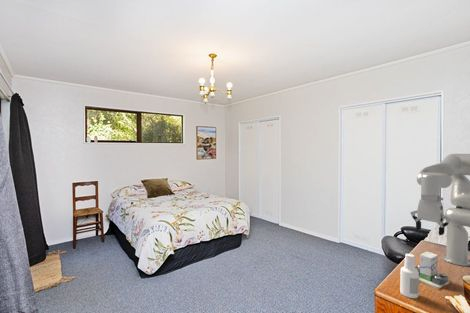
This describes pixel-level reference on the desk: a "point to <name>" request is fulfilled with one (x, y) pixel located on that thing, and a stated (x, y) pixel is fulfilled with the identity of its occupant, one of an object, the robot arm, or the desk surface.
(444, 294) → the desk surface
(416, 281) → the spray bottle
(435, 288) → the jig board
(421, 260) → the ink box
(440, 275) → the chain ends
